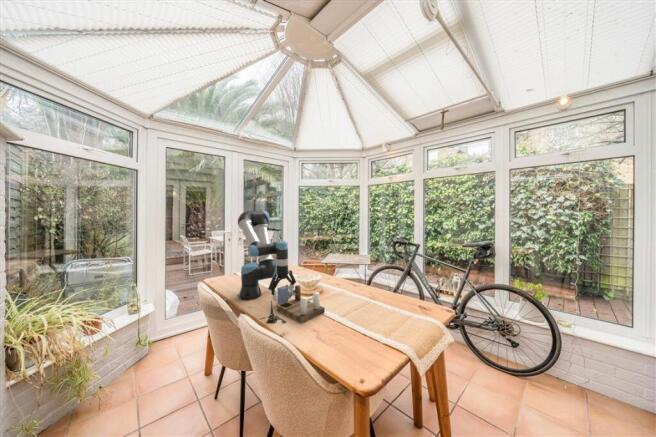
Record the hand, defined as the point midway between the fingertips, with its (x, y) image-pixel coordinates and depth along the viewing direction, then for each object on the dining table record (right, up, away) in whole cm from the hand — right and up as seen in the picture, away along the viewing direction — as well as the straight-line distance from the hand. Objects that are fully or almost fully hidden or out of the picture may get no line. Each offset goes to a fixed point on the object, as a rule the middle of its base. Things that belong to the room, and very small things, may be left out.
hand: (283, 296), depth 157 cm
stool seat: (+13, -6, -11) cm, 18 cm away
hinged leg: (+19, -3, -17) cm, 26 cm away
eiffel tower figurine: (-2, -7, -22) cm, 23 cm away
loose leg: (0, -5, +1) cm, 5 cm away
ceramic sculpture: (0, -5, +15) cm, 15 cm away
